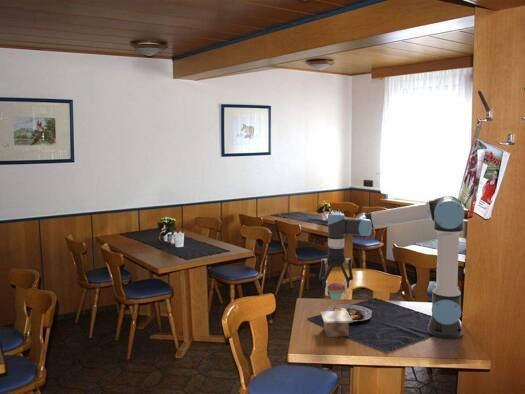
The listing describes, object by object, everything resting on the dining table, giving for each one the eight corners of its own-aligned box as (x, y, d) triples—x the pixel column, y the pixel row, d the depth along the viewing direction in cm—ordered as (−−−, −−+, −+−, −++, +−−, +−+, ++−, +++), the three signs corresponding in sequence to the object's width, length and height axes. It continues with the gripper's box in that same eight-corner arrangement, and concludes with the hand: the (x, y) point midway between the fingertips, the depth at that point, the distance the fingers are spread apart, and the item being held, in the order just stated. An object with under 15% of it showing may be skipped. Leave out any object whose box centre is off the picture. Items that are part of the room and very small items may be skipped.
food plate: (369, 326, 251) (369, 319, 251) (321, 323, 257) (321, 316, 257) (373, 310, 275) (373, 304, 275) (329, 307, 281) (329, 301, 281)
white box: (347, 326, 252) (347, 310, 251) (352, 337, 239) (352, 320, 238) (320, 327, 251) (320, 311, 250) (324, 338, 238) (324, 321, 237)
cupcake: (325, 295, 247) (325, 271, 245) (342, 294, 248) (342, 270, 246) (329, 301, 238) (329, 276, 237) (347, 300, 239) (347, 275, 238)
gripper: (357, 244, 244) (356, 291, 247) (312, 245, 243) (312, 292, 246) (360, 248, 236) (360, 296, 239) (314, 249, 236) (314, 297, 239)
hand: (335, 294), depth 243 cm, fingers closed on cupcake, 8 cm apart
